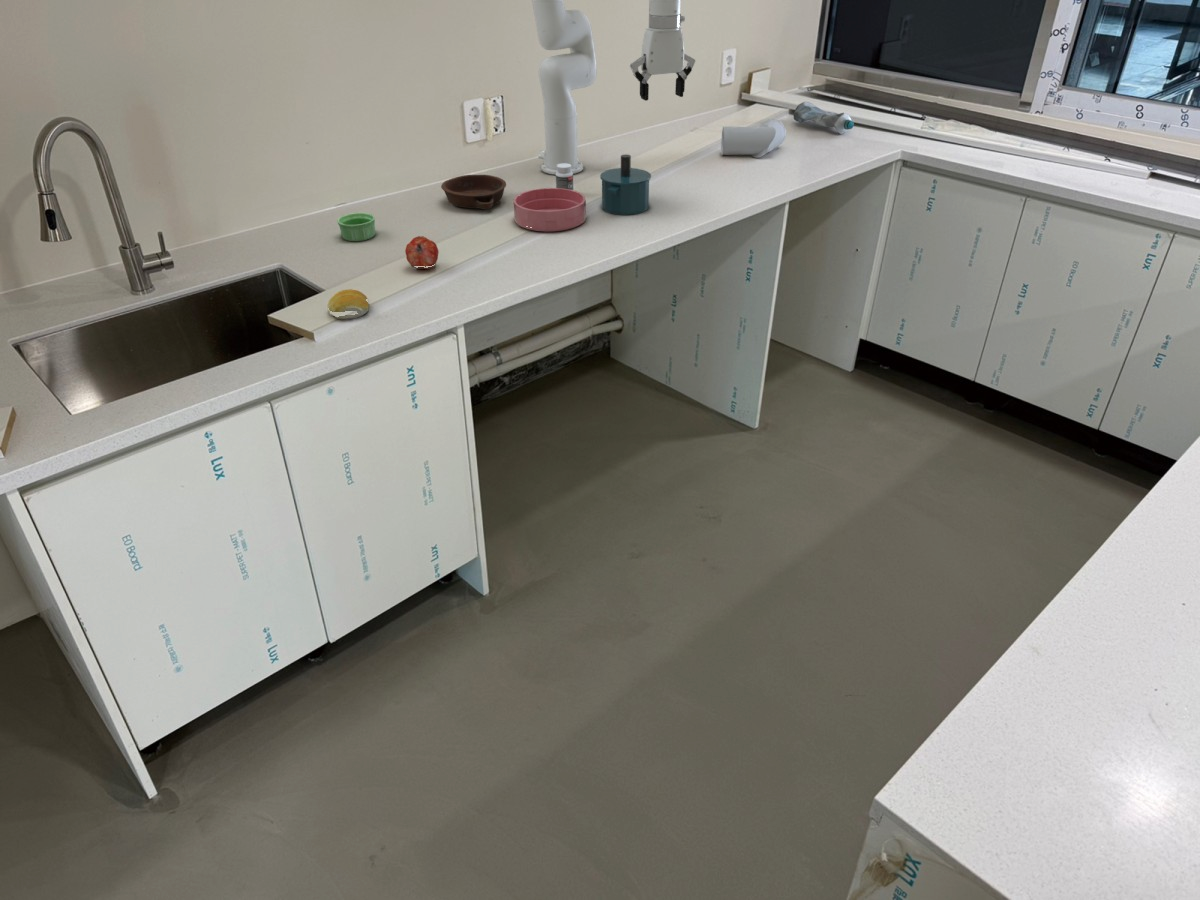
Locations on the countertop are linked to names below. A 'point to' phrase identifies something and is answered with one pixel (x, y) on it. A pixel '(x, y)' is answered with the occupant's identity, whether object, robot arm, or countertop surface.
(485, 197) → the dish
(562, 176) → the pill bottle
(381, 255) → the countertop surface
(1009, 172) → the countertop surface
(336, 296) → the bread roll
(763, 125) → the bent grey cylinder
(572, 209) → the bowl
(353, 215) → the ramekin
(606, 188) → the pot
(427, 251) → the pomegranate
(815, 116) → the crushed plastic bottle
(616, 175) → the lid
